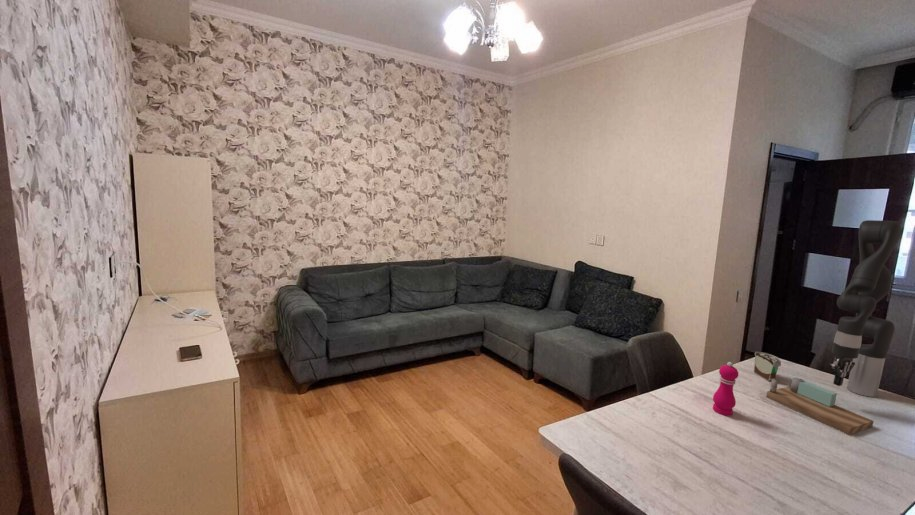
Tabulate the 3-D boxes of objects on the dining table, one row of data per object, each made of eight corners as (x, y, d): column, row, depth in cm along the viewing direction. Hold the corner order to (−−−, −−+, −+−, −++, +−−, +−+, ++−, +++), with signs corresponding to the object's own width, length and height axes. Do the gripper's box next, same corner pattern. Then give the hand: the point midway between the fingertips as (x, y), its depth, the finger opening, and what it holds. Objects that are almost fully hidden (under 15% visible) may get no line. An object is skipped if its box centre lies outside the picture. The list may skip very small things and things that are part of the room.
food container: (785, 384, 177) (789, 362, 175) (771, 383, 177) (774, 362, 175) (764, 371, 189) (768, 351, 187) (751, 370, 189) (754, 351, 187)
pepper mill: (726, 407, 155) (734, 358, 152) (737, 417, 148) (746, 367, 145) (707, 405, 156) (715, 357, 152) (717, 415, 149) (725, 365, 145)
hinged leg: (787, 389, 165) (790, 378, 165) (793, 388, 167) (796, 377, 166) (828, 406, 153) (831, 394, 152) (834, 405, 154) (837, 393, 153)
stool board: (788, 391, 169) (792, 375, 168) (872, 427, 145) (876, 408, 143) (766, 397, 164) (769, 380, 163) (848, 434, 139) (852, 415, 138)
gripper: (844, 339, 161) (835, 378, 164) (825, 341, 157) (816, 382, 159) (868, 345, 154) (859, 387, 157) (849, 348, 150) (839, 391, 153)
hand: (837, 384), depth 158 cm, fingers closed
